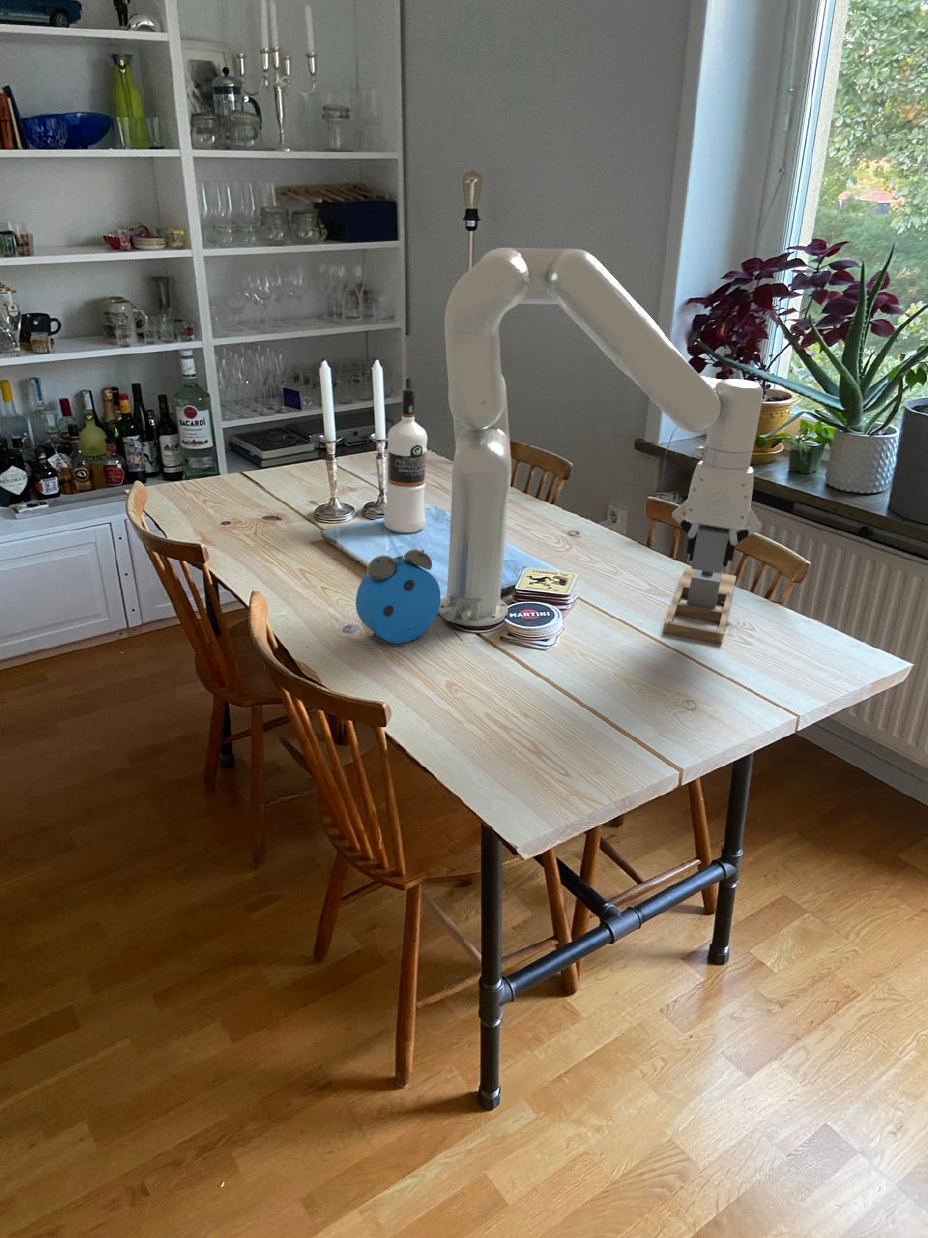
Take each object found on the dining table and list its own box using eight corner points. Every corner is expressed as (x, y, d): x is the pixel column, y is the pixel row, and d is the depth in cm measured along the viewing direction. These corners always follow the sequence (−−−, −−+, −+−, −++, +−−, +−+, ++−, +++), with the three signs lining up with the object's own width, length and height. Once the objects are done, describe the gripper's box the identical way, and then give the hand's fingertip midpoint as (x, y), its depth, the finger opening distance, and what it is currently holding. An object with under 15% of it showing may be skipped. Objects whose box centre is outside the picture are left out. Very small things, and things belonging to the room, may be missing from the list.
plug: (721, 573, 153) (729, 527, 150) (691, 568, 155) (698, 523, 151) (724, 561, 158) (732, 517, 155) (695, 556, 160) (702, 512, 156)
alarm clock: (420, 622, 157) (424, 540, 151) (440, 636, 153) (444, 553, 146) (354, 638, 150) (354, 554, 144) (373, 653, 146) (374, 567, 139)
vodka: (415, 518, 206) (420, 384, 193) (432, 531, 198) (438, 393, 185) (377, 522, 202) (379, 385, 189) (392, 536, 194) (396, 395, 181)
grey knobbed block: (712, 617, 166) (720, 576, 163) (685, 612, 168) (692, 571, 164) (716, 604, 171) (723, 564, 168) (689, 599, 173) (696, 559, 169)
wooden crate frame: (721, 644, 156) (724, 629, 155) (663, 632, 159) (665, 618, 158) (734, 585, 180) (737, 572, 179) (683, 576, 183) (686, 563, 182)
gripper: (671, 456, 148) (655, 560, 155) (780, 470, 143) (758, 577, 151) (677, 445, 154) (662, 546, 162) (782, 459, 149) (760, 562, 157)
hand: (708, 560), depth 156 cm, fingers closed on plug, 5 cm apart
